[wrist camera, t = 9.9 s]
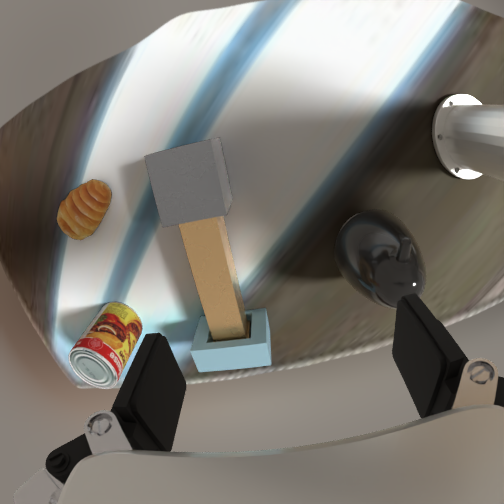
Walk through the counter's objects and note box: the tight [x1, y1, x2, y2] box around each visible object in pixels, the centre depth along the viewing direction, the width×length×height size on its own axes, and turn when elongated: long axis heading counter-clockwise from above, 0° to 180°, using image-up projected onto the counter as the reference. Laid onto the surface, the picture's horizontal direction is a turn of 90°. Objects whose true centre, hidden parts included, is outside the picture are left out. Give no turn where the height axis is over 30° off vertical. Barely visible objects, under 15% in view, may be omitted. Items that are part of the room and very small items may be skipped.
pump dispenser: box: [334, 209, 426, 309], centre depth 32 cm, size 10×10×15 cm
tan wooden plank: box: [179, 216, 251, 342], centre depth 38 cm, size 5×20×5 cm, turn 11°
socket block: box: [190, 308, 271, 372], centre depth 41 cm, size 10×4×8 cm, turn 101°
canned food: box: [69, 302, 143, 389], centre depth 40 cm, size 8×8×12 cm
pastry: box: [57, 179, 112, 240], centre depth 37 cm, size 9×7×4 cm
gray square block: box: [144, 138, 233, 227], centre depth 33 cm, size 7×8×7 cm
